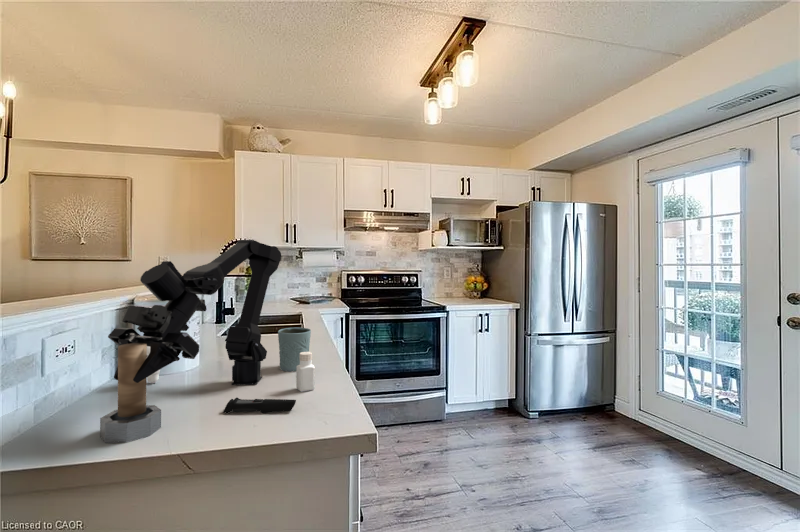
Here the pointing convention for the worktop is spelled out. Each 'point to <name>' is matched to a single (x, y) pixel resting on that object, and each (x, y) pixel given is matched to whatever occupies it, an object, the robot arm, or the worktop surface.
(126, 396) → the wooden peg
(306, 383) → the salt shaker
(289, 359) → the teal plant pot
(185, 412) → the worktop surface
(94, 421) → the worktop surface
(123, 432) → the gray faceted open holder
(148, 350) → the lightbulb
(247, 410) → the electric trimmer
